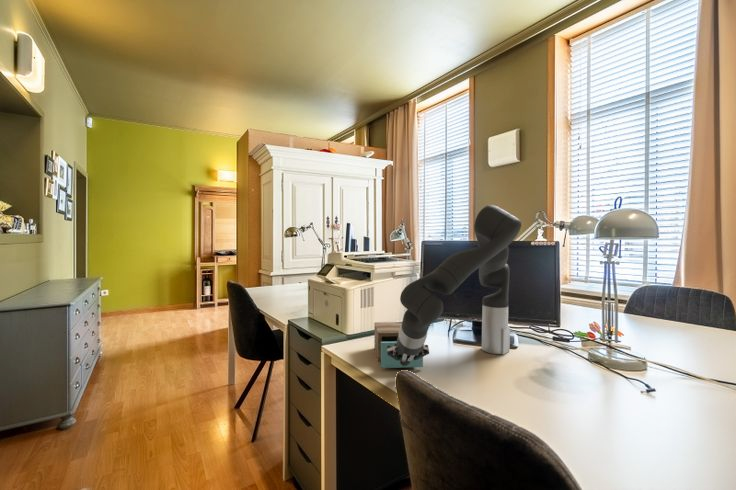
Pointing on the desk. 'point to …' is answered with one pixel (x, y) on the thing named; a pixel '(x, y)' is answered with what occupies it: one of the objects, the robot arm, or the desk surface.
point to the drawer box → (385, 334)
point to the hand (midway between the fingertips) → (404, 362)
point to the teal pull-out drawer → (391, 362)
